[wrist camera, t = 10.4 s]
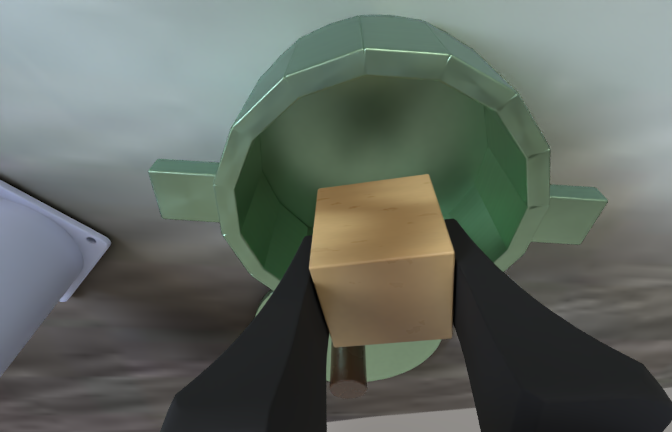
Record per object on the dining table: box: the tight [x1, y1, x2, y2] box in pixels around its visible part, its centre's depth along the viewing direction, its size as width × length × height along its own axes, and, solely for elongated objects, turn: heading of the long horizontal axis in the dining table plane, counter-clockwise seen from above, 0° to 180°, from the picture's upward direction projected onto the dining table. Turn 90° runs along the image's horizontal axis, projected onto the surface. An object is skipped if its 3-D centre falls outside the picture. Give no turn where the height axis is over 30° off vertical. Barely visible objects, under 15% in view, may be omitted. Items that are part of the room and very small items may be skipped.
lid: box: [255, 290, 441, 399], centre depth 25 cm, size 14×14×5 cm
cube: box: [309, 174, 455, 347], centre depth 13 cm, size 4×4×4 cm
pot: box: [148, 15, 608, 291], centre depth 17 cm, size 13×18×6 cm
